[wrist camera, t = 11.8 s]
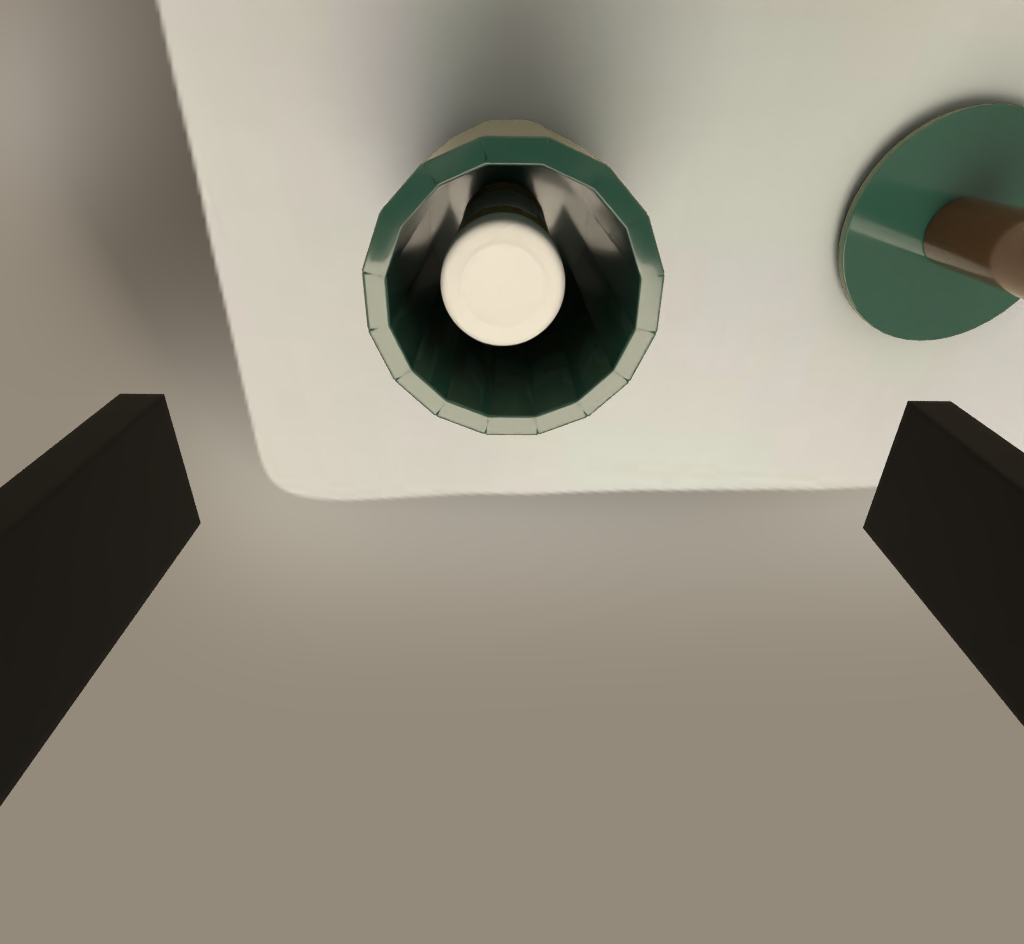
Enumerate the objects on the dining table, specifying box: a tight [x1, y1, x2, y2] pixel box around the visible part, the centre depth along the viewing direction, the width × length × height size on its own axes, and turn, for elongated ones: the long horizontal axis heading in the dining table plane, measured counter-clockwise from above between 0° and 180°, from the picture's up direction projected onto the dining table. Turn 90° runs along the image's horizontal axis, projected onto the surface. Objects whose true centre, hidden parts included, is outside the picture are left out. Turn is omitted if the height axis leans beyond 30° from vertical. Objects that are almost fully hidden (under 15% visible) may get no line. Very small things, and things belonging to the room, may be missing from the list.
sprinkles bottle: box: [440, 182, 565, 346], centre depth 29 cm, size 5×5×13 cm
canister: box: [362, 119, 664, 435], centre depth 28 cm, size 10×10×16 cm
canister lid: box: [838, 103, 1024, 341], centre depth 31 cm, size 12×12×10 cm
